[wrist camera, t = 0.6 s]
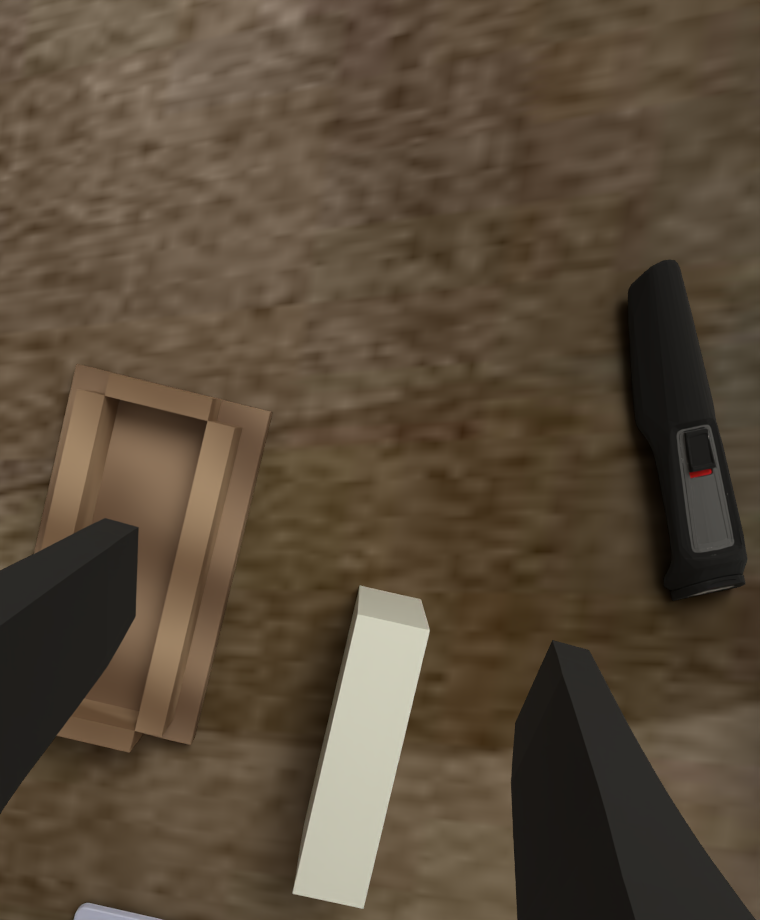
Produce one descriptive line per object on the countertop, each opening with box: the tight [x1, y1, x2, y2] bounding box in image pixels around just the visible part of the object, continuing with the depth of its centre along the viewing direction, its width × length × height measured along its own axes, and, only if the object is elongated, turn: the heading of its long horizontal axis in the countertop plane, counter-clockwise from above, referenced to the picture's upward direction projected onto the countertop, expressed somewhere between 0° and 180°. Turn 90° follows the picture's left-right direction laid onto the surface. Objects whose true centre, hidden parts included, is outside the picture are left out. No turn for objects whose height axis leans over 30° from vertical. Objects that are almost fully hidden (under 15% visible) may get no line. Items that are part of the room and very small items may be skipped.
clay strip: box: [293, 586, 430, 909], centre depth 30 cm, size 12×3×5 cm, turn 167°
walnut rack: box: [34, 364, 273, 753], centre depth 31 cm, size 16×9×3 cm, turn 166°
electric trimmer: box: [628, 260, 747, 601], centre depth 31 cm, size 4×16×3 cm, turn 11°
